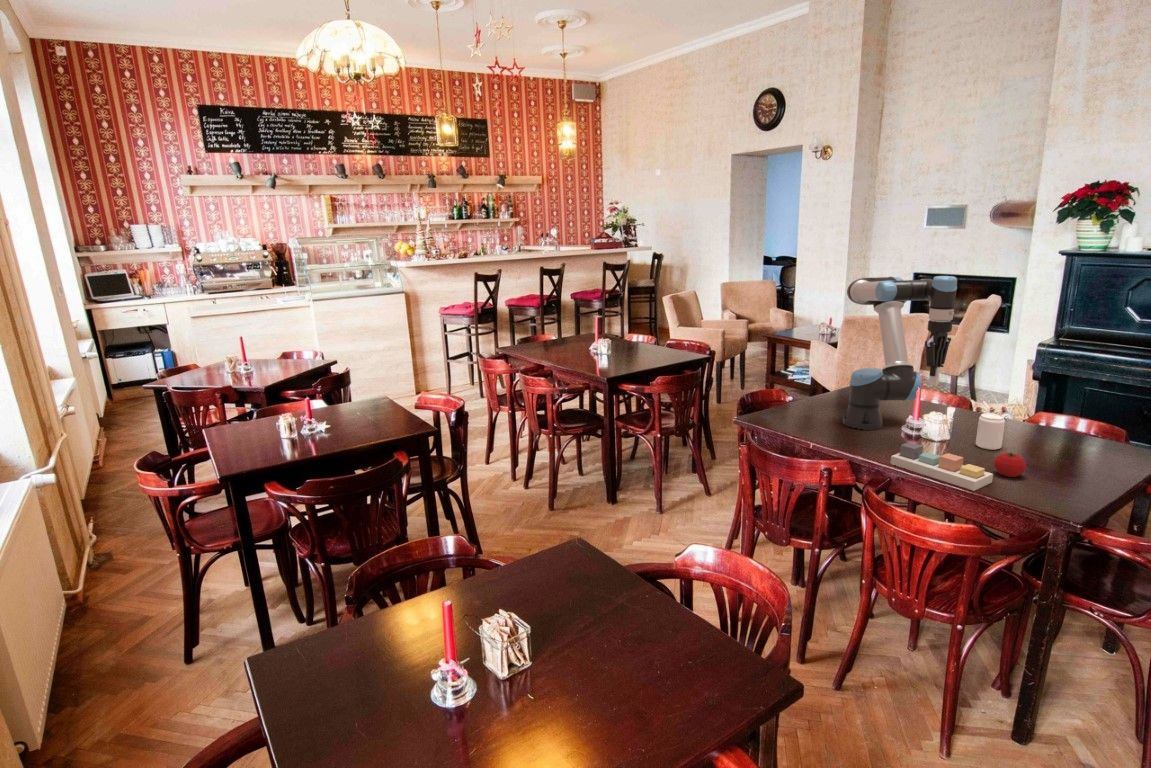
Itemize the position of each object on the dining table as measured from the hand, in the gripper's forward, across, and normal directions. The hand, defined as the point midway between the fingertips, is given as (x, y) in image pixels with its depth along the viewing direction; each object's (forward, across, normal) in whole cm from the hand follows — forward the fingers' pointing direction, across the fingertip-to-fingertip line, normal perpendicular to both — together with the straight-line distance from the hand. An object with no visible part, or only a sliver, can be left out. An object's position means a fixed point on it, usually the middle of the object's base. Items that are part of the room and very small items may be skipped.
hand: (933, 384), depth 230 cm
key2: (+24, -20, -13) cm, 33 cm away
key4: (+24, -20, -26) cm, 41 cm away
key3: (+22, -20, -19) cm, 36 cm away
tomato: (+25, -4, -30) cm, 39 cm away
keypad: (+24, -20, -16) cm, 35 cm away
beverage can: (+25, +18, -13) cm, 33 cm away
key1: (+22, -20, -6) cm, 30 cm away
